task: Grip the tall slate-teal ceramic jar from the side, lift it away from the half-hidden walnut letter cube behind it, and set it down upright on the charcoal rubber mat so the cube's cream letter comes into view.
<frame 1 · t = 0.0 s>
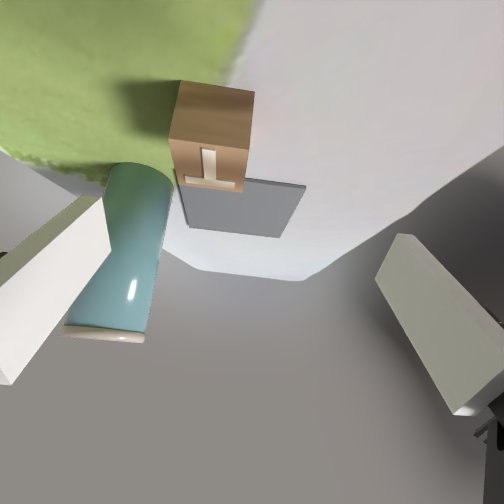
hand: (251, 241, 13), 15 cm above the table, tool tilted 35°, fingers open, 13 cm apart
jar: (142, 182, 37), on the table
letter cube: (218, 114, 25), on the table
mat: (238, 208, 41), on the table
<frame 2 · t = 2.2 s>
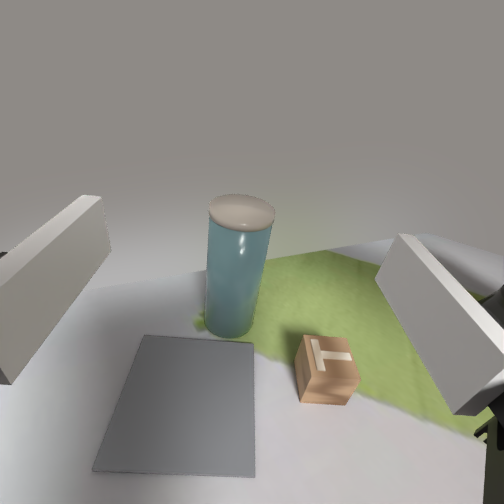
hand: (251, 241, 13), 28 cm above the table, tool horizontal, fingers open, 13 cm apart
jar: (228, 318, 45), on the table
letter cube: (317, 382, 38), on the table
mat: (189, 395, 34), on the table
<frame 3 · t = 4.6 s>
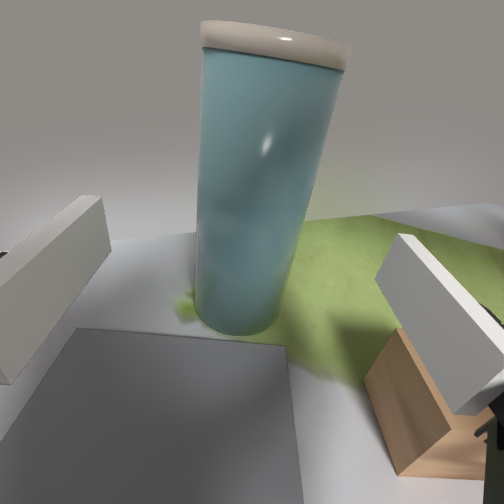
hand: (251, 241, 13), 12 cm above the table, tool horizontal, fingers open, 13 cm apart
jar: (237, 301, 26), on the table
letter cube: (419, 424, 19), on the table
mat: (154, 462, 15), on the table
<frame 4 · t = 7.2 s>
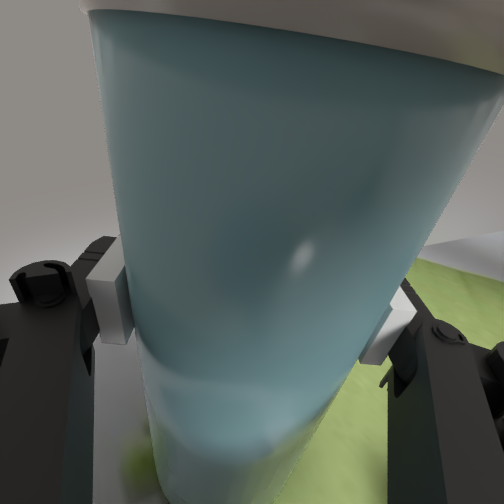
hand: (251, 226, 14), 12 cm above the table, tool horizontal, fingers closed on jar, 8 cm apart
jar: (224, 438, 17), on the table, touching gripper
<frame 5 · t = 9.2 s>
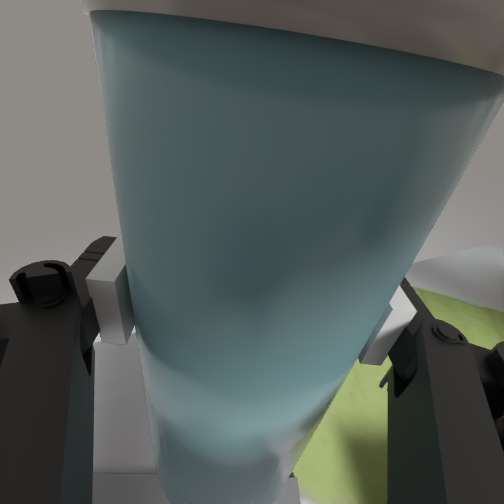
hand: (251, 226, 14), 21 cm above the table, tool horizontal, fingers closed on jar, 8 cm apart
jar: (225, 437, 17), point 9 cm above the table, touching gripper
when the fingers open (14 cm above the table, at t = 11.3 s): jar drops 1 cm, resting on mat.
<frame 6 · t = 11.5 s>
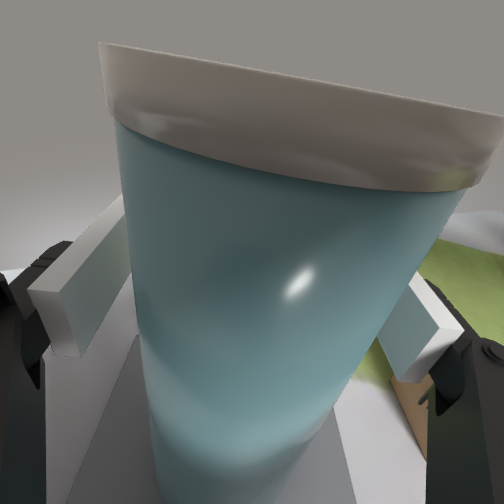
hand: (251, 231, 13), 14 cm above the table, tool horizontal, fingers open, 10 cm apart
jar: (222, 448, 17), point 1 cm above the table, touching mat
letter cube: (441, 419, 22), on the table
mat: (222, 451, 18), on the table
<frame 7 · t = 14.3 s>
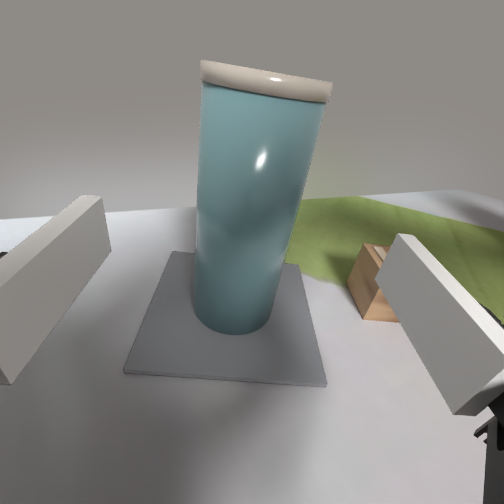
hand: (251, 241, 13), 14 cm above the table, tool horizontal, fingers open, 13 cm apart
jar: (232, 303, 28), point 1 cm above the table, touching mat
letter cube: (378, 302, 32), on the table
mat: (232, 306, 28), on the table
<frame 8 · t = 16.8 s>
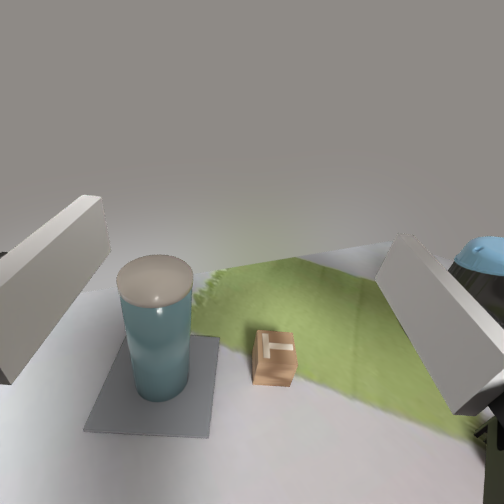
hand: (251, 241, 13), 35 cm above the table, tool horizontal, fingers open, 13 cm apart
jar: (162, 376, 42), point 1 cm above the table, touching mat
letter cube: (269, 368, 47), on the table
mat: (163, 377, 43), on the table
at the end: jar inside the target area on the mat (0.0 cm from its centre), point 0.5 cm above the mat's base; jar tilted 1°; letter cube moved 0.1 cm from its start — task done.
